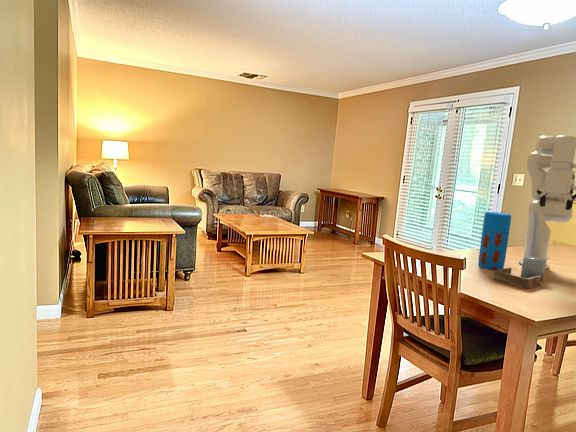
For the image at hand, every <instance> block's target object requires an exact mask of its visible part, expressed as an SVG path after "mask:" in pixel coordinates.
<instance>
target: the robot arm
mask: <svg viewBox="0 0 576 432" xmlns="http://www.w3.org/2000/svg"><path fill="white" fill-rule="evenodd" d="M534 147H535V148H534V149H535V151H534V152H531V153H529V155H528V156H527V159H526V170H527V173H528V176H529V178H530V180H531V186H530V187H531V199H532V201H531V202H530V203H529V204H528V214H527V215H528V217H527V218H528V221H527V229H526V237H525V243H524V249H523V256H522V258H523V257H524V256H532V257H538V258H543V259H547V261H548V260H549V257H548V250H549V244H550V238H551V229H550V226H549V225H548V224H547V222H555V223H568V222H571V220H572V218H573V205H574V201H575V199H576V193H574V192H575V191H576V185H575V184H576V183H575V181H576V174H575V173H576V172H575V170H573V169H576V164H575V163H574V161H575V155H576V136H573V135H540V136H538V137H537V139H536V141H535V145H534ZM544 169H545V170H544ZM546 170H547V171H546ZM573 194H574V195H573ZM518 264H520V265H522V264H523V259H519V260H518ZM549 267H550V265H549V264H548V263H546V268H545V270H546V269H549Z"/></svg>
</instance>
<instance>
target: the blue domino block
mask: <svg viewBox="0 0 576 432" xmlns="http://www.w3.org/2000/svg"><path fill="white" fill-rule="evenodd" d="M483 217H484V218H483V224H482V230H481V231H482V232H481V239H480V246H479V252H478V253H479V255H478V262H477V263H478V267H480V268H483V269H487V270H491V271H495V270H500V269H505V268H504V267H505V264H506V263H505V262H506V256H507V250H508V249H507V248H508V243H509V237H510V229H511V222H512V214H511V213H510V214H509V213H504V212H498V211H485V213H484V215H483Z"/></svg>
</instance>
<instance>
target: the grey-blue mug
mask: <svg viewBox="0 0 576 432" xmlns="http://www.w3.org/2000/svg"><path fill="white" fill-rule="evenodd" d="M523 256H524V255H523ZM523 256H522V260H523V264H522V266H521V273H520V277H522V278H530V277H534V276H539V275H540V276H542V281H541V283H543V280H544V274H545V272H546V269H547V268H546V264H547V261H548V260H547V259H543V258H538V257H532V256H524V257H523ZM545 268H546V269H545Z"/></svg>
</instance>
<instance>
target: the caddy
mask: <svg viewBox="0 0 576 432" xmlns="http://www.w3.org/2000/svg"><path fill="white" fill-rule="evenodd" d="M512 269H513V268H512V267H505V268H503V269H500V270H493V277H492V281H495V282H498V283H501V284H505V285H509V286H513V287H516V288H519V289H522V290H530V289H533V288H538V287H541V286H542V282H543V281H542V276H540V275H539V276H534V277H530V278H522V277H521V276H518V275H514V274H512ZM541 281H542V282H541Z"/></svg>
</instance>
